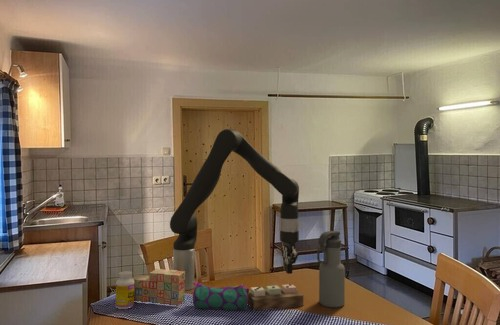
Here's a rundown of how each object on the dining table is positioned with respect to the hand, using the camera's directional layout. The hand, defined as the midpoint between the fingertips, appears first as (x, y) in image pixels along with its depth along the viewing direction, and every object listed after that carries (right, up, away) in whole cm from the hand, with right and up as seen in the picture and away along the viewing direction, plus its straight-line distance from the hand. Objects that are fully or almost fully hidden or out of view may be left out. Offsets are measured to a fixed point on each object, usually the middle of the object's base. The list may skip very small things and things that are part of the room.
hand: (289, 273), depth 150 cm
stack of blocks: (-52, -11, -2) cm, 53 cm away
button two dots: (0, -8, 0) cm, 8 cm away
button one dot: (-6, -8, -2) cm, 10 cm away
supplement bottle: (-63, -11, -8) cm, 64 cm away
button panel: (-6, -11, -2) cm, 13 cm away
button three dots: (-13, -8, -4) cm, 15 cm away
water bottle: (+16, -12, -2) cm, 20 cm away
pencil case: (-27, -11, -8) cm, 30 cm away
